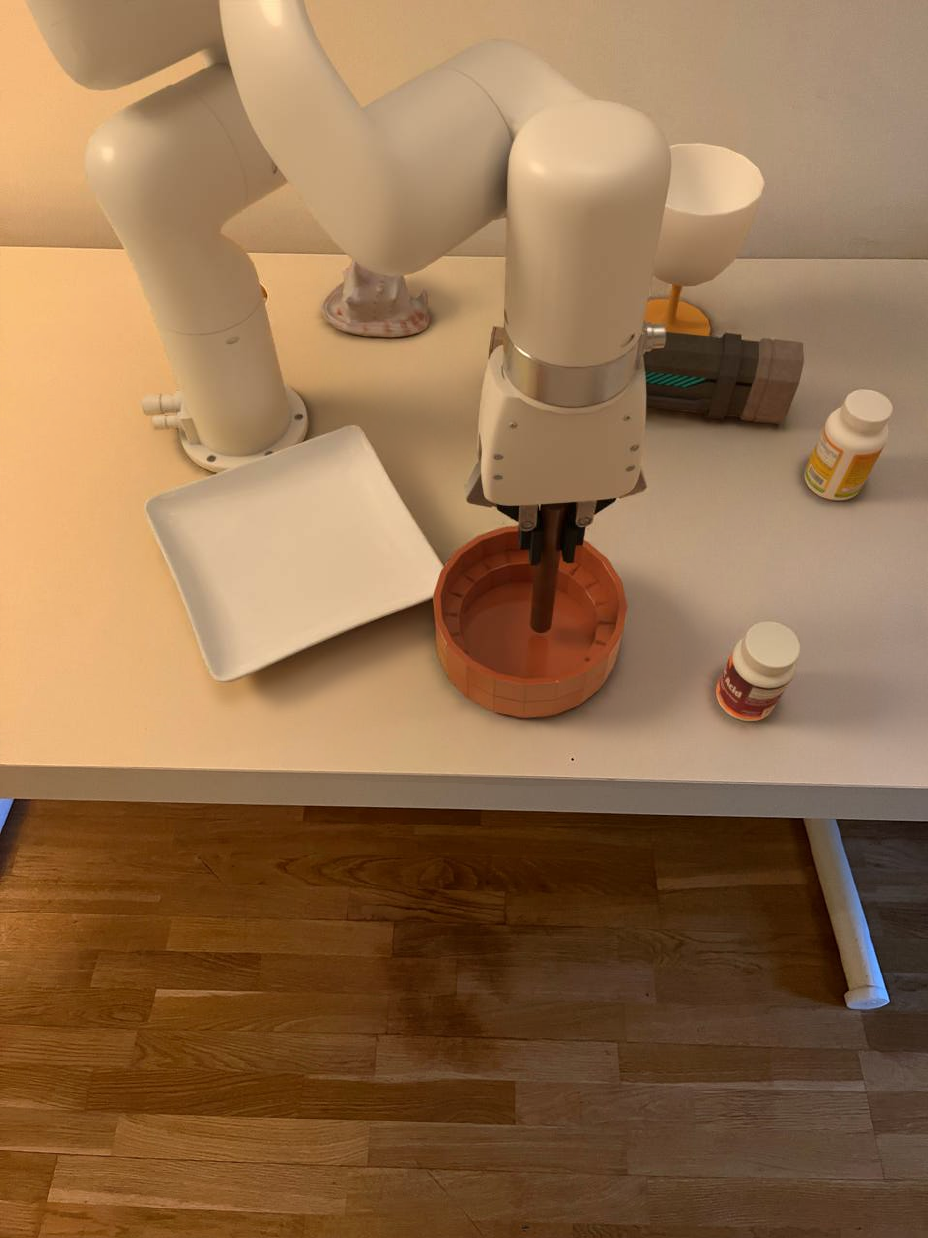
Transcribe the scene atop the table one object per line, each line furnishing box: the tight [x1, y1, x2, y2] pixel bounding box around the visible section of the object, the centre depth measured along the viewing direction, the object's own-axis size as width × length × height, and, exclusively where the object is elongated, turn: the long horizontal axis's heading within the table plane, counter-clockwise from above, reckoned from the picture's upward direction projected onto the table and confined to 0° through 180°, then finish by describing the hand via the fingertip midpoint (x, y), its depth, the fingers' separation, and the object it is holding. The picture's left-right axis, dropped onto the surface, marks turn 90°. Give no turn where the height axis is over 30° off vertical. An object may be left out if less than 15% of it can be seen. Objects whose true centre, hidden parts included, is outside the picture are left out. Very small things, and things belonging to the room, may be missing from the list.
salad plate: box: [143, 424, 445, 684], centre depth 79 cm, size 21×21×3 cm
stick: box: [530, 502, 567, 633], centre depth 68 cm, size 2×2×16 cm
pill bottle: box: [715, 620, 801, 722], centre depth 70 cm, size 5×5×8 cm
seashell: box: [321, 259, 431, 338], centre depth 96 cm, size 10×12×9 cm
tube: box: [488, 326, 805, 425], centre depth 89 cm, size 11×7×30 cm
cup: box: [644, 142, 766, 336], centre depth 91 cm, size 12×12×17 cm
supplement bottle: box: [804, 388, 894, 501], centre depth 82 cm, size 5×5×10 cm
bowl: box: [432, 525, 628, 719], centre depth 74 cm, size 15×15×6 cm
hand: (549, 547), depth 66 cm, fingers closed on stick, 1 cm apart
